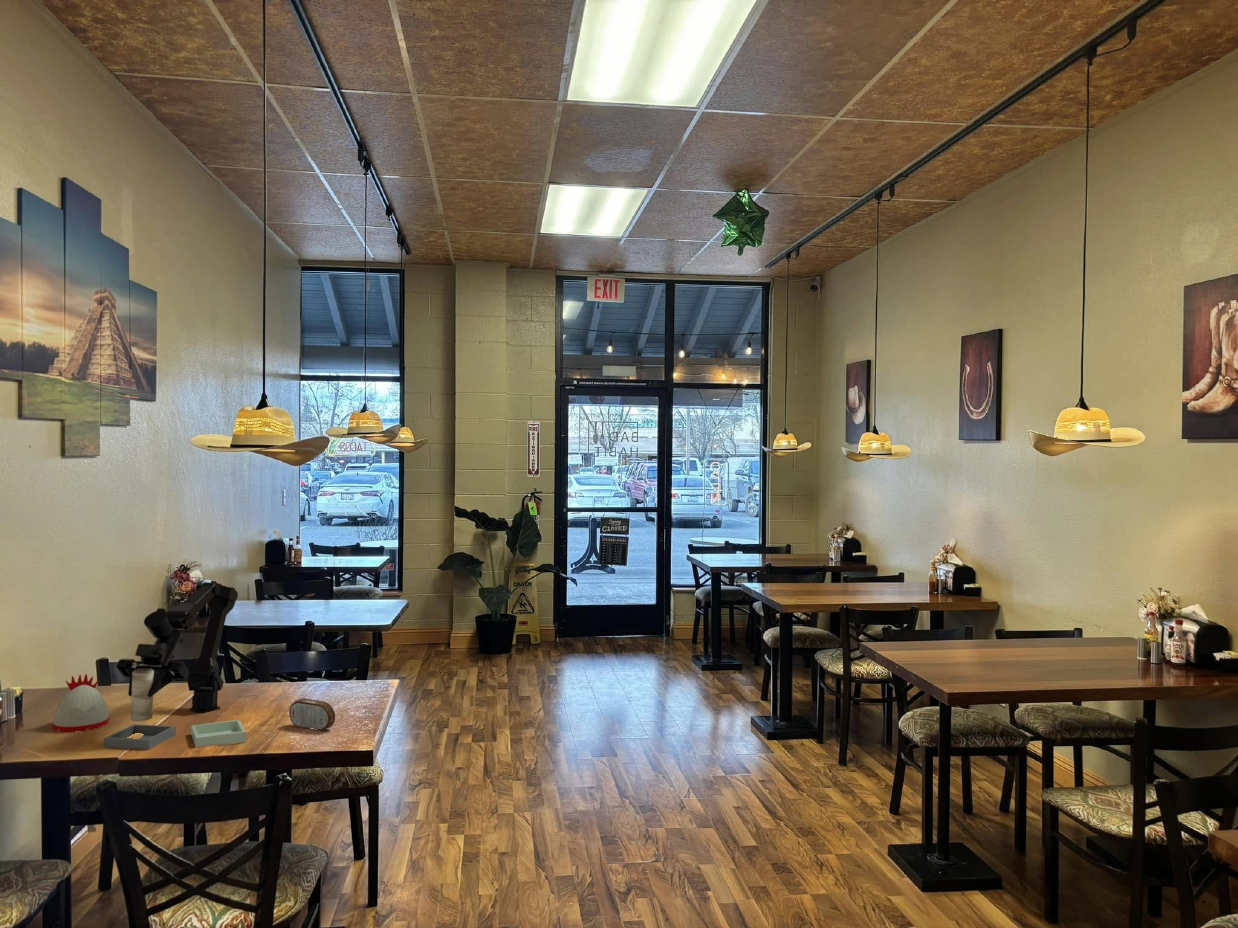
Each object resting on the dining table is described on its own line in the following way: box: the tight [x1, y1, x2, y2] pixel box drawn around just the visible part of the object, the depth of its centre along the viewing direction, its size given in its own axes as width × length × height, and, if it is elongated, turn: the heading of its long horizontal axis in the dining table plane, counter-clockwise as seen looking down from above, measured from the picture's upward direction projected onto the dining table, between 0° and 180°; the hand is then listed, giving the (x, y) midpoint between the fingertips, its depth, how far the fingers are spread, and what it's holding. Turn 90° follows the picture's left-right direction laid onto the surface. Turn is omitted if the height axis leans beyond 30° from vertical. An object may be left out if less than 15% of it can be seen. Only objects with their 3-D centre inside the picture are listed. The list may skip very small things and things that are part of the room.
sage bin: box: [190, 719, 247, 748], centre depth 236 cm, size 13×13×3 cm
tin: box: [288, 697, 336, 731], centre depth 249 cm, size 15×3×8 cm, turn 71°
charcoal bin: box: [103, 723, 177, 751], centre depth 231 cm, size 13×13×3 cm
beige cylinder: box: [130, 668, 155, 722], centre depth 231 cm, size 5×5×13 cm
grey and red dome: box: [52, 673, 110, 733], centre depth 245 cm, size 14×14×15 cm
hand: (139, 695), depth 230 cm, fingers closed on beige cylinder, 5 cm apart
